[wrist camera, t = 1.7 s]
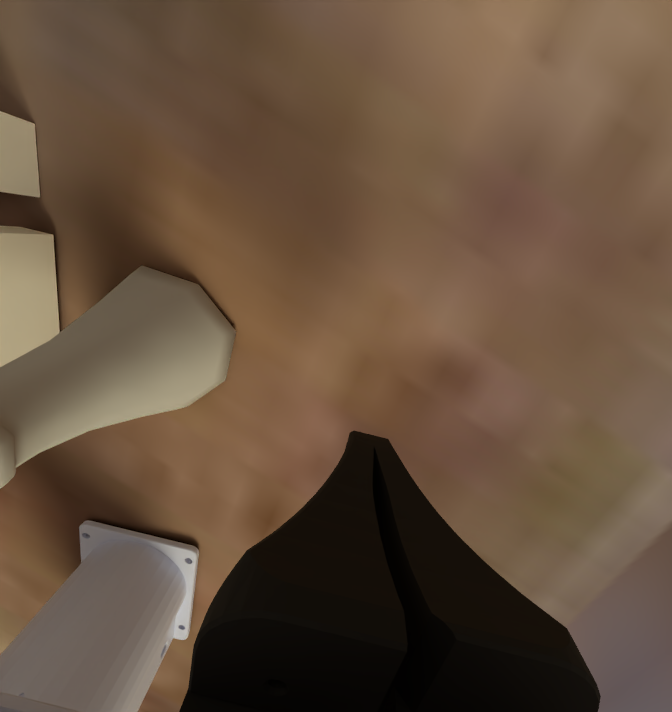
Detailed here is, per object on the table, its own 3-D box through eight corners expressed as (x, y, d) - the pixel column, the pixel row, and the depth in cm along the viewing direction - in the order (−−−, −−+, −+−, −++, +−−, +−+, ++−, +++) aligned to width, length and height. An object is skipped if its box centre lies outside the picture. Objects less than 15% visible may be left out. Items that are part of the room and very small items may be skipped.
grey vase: (83, 350, 18) (-235, 471, 8) (136, 237, 16) (-216, 226, 6) (197, 423, 19) (28, 605, 9) (261, 326, 16) (126, 437, 7)
